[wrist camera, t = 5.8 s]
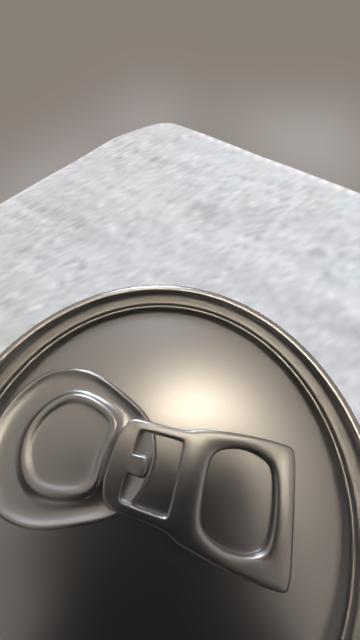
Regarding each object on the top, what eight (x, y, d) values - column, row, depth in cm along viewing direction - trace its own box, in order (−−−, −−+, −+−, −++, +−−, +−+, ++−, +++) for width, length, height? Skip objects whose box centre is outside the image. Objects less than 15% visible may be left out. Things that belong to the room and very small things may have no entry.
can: (138, 379, 15) (43, 235, 5) (238, 406, 15) (398, 308, 4) (97, 498, 13) (-386, 830, 2) (219, 540, 12) (610, 1519, 1)
